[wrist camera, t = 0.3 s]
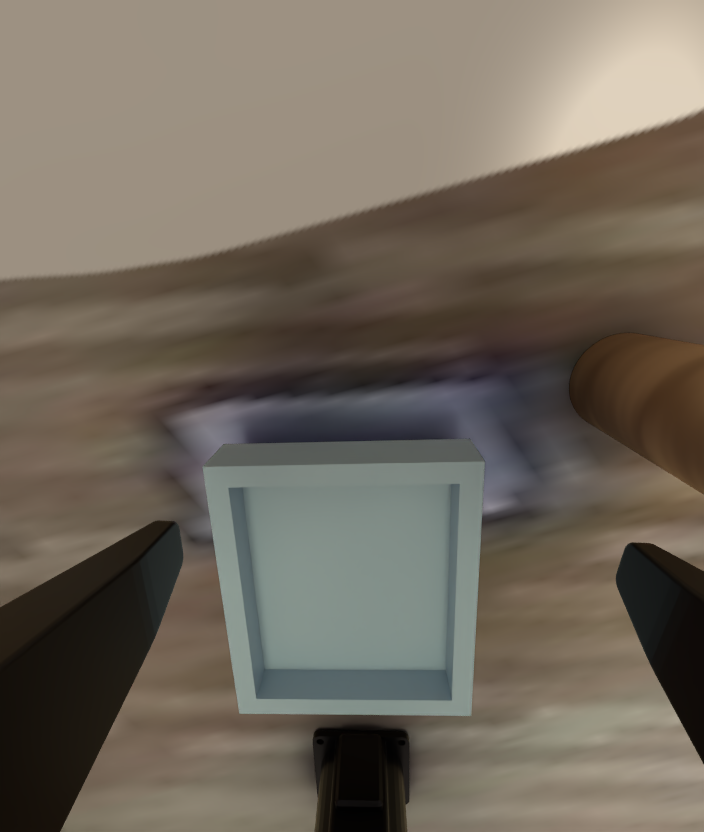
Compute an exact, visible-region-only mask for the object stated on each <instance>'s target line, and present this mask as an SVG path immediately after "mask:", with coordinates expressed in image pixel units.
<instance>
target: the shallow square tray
mask: <svg viewBox="0 0 704 832" xmlns="http://www.w3.org/2000/svg"><path fill="white" fill-rule="evenodd" d="M484 470H485V461H484V459H483V458H482V456H481V455H480V453H479V452H478V450H477V449H476V447H475V446H474V444H473V443H472V441H471V440H470V439H436V440H391V441H345V442H300V443H254V444H223V446H222V447H221V448H220V449H219V450H218V451H217V452H216V453H215V454H214V455H213V456H212V457H211V458H210V459H209V461H208V462H207V463H206V464H205V465H204V466H203V473H204V480H205V487H206V493H207V500H208V507H209V514H210V520H211V527H212V534H213V540H214V547H215V554H216V560H217V567H218V574H219V580H220V587H221V594H222V601H223V607H224V614H225V621H226V627H227V634H228V641H229V647H230V654H231V661H232V668H233V674H234V681H235V688H236V694H237V701H238V708H239V714H335V715H437V716H471V708H472V690H473V672H474V653H475V635H476V617H477V598H478V580H479V561H480V543H481V525H482V506H483V488H484Z"/></svg>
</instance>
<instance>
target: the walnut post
mask: <svg viewBox="0 0 704 832" xmlns="http://www.w3.org/2000/svg"><path fill="white" fill-rule="evenodd" d="M569 393H570V399H571V402H572V405H573V407H574V409H575V410H576V412H577V413H578V414H579V416H580V417H581V418H583V419H584V420H585V421H587V422H588V423H590V424H591V425H593V426H595V427H596V428H598V429H599V430H601V431H603V432H604V433H606V434H607V435H609V436H611V437H612V438H614V439H615V440H617V441H619V442H620V443H622V444H623V445H625V446H627V447H628V448H630V449H631V450H633V451H635V452H636V453H638V454H640V455H641V456H643V457H644V458H646V459H648V460H649V461H651V462H652V463H654V464H656V465H657V466H659V467H660V468H662V469H664V470H665V471H667V472H668V473H670V474H672V475H673V476H675V477H676V478H678V479H680V480H681V481H683V482H685V483H686V484H688V485H689V486H691V487H693V488H694V489H696V490H697V491H699V492H701V493H702V494H704V345H700V344H694V343H688V342H683V341H677V340H671V339H666V338H660V337H654V336H648V335H643V334H637V333H619V334H615V335H611V336H608V337H606V338H604V339H602V340H600V341H598V342H597V343H595V344H593V345H592V346H591V347H590V348H589V349H587V350H586V351H585V352H584V353H583V355H582V356H581V357H580V359H579V360H578V362H577V363H576V365H575V367H574V369H573V371H572V374H571V378H570V383H569Z"/></svg>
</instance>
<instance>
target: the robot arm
mask: <svg viewBox="0 0 704 832" xmlns="http://www.w3.org/2000/svg"><path fill="white" fill-rule="evenodd" d="M182 562H183V549H182V543H181V536H180V530H179V526H178V524H177V523H176V522H175V521H154V522H152V523H151V524H149V525H147V526H145V527H144V528H142V529H140V530H138V531H136V532H135V533H133V534H131V535H129V536H127V537H126V538H124V539H122V540H120V541H118V542H117V543H115V544H113V545H111V546H109V547H108V548H106V549H104V550H102V551H100V552H99V553H97V554H95V555H93V556H92V557H90V558H88V559H86V560H84V561H83V562H81V563H79V564H77V565H75V566H74V567H72V568H70V569H68V570H66V571H65V572H63V573H61V574H59V575H57V576H56V577H54V578H52V579H50V580H48V581H47V582H45V583H43V584H41V585H39V586H38V587H36V588H34V589H32V590H30V591H29V592H27V593H25V594H23V595H22V596H20V597H18V598H16V599H14V600H13V601H11V602H9V603H7V604H5V605H4V606H2V607H0V832H60V831H61V829H62V827H63V825H64V823H65V821H66V819H67V817H68V815H69V813H70V811H71V809H72V806H73V804H74V802H75V800H76V798H77V796H78V794H79V792H80V790H81V788H82V786H83V784H84V782H85V780H86V778H87V776H88V774H89V772H90V770H91V768H92V766H93V764H94V762H95V760H96V758H97V755H98V753H99V751H100V749H101V747H102V745H103V743H104V741H105V739H106V737H107V735H108V733H109V731H110V729H111V727H112V725H113V723H114V721H115V719H116V717H117V715H118V713H119V711H120V709H121V707H122V704H123V702H124V700H125V698H126V696H127V694H128V692H129V690H130V688H131V686H132V684H133V682H134V680H135V678H136V676H137V674H138V672H139V670H140V668H141V666H142V664H143V662H144V660H145V658H146V656H147V653H148V651H149V649H150V647H151V645H152V643H153V641H154V639H155V636H156V634H157V631H158V629H159V626H160V624H161V621H162V618H163V615H164V613H165V610H166V607H167V605H168V602H169V599H170V596H171V594H172V591H173V588H174V585H175V583H176V580H177V577H178V575H179V572H180V569H181V566H182ZM616 584H617V588H618V590H619V593H620V595H621V597H622V600H623V602H624V605H625V607H626V609H627V612H628V614H629V616H630V619H631V621H632V623H633V626H634V628H635V630H636V633H637V635H638V638H639V640H640V642H641V645H642V647H643V649H644V652H645V654H646V656H647V658H648V660H649V663H650V665H651V667H652V669H653V671H654V673H655V674H656V676H657V678H658V680H659V682H660V684H661V686H662V688H663V690H664V691H665V693H666V695H667V697H668V699H669V701H670V702H671V704H672V706H673V708H674V710H675V712H676V714H677V715H678V717H679V719H680V721H681V723H682V725H683V727H684V728H685V730H686V732H687V734H688V736H689V738H690V740H691V741H692V743H693V745H694V747H695V749H696V751H697V753H698V754H699V756H700V758H701V760H702V762H703V764H704V571H702V570H700V569H698V568H696V567H695V566H693V565H691V564H689V563H687V562H685V561H683V560H682V559H680V558H678V557H676V556H674V555H672V554H671V553H669V552H667V551H665V550H663V549H661V548H659V547H658V546H656V545H654V544H650V543H629V544H628V545H627V546H626V547H625V549H624V552H623V555H622V558H621V562H620V565H619V568H618V571H617V574H616ZM313 749H314V761H315V772H316V784H317V795H318V803H317V813H316V823H315V832H407V819H406V804H407V803H408V802H409V737H408V734H407V733H405V732H402V731H322V730H320V731H316V732H315V733H314V737H313Z"/></svg>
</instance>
